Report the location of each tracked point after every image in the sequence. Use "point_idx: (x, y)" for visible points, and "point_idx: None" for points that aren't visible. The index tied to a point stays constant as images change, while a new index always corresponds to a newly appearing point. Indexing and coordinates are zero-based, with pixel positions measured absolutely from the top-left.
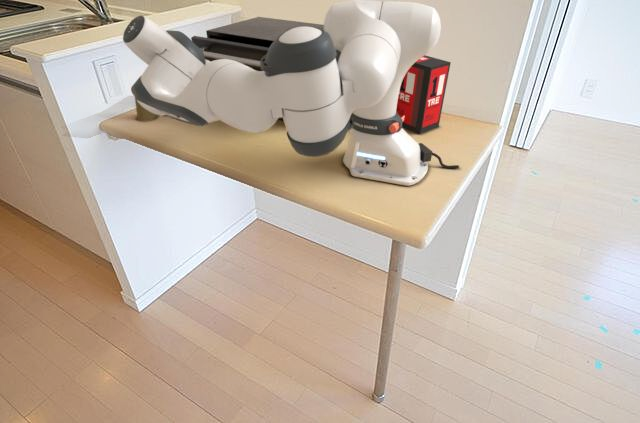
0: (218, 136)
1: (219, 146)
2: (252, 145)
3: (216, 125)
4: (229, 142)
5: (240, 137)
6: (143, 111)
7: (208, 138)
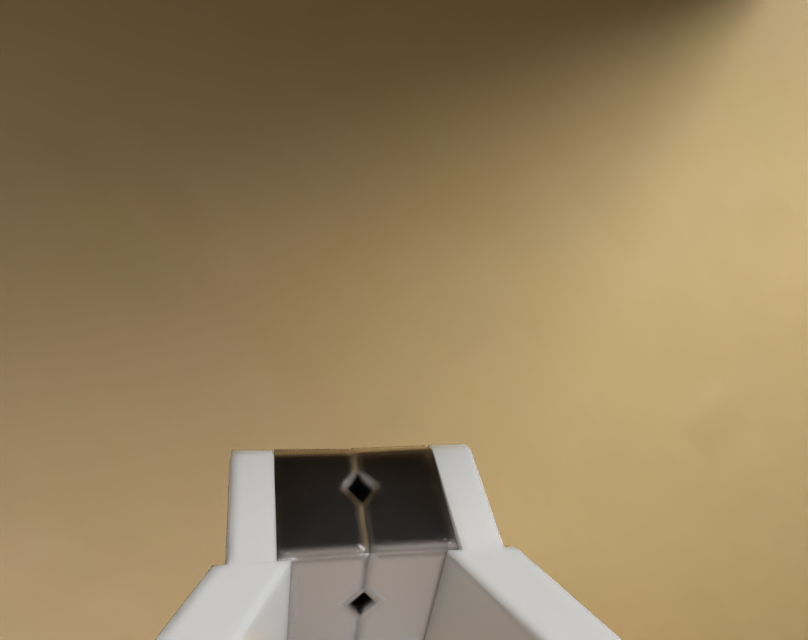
0: None
1: None
2: (661, 448)
3: (85, 284)
4: None
5: (479, 379)
6: None
7: None
